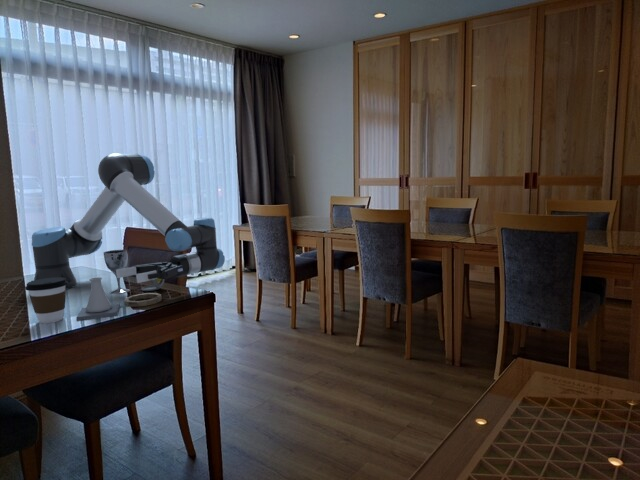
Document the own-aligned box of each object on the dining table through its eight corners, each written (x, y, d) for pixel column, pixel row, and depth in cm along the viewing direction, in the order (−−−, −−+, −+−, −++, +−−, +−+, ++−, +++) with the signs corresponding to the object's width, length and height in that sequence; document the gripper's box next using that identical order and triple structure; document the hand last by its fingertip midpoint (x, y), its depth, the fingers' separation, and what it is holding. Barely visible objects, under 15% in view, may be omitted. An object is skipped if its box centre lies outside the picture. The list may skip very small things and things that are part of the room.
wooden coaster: (126, 299, 161) (125, 295, 161) (161, 295, 164) (161, 291, 164) (123, 308, 150) (123, 303, 150) (161, 303, 154) (161, 299, 153)
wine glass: (128, 293, 171) (124, 252, 169) (105, 295, 170) (100, 253, 168) (133, 288, 179) (129, 249, 177) (111, 289, 177) (106, 250, 175)
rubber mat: (82, 310, 149) (82, 307, 149) (120, 306, 153) (119, 303, 153) (76, 320, 139) (76, 317, 139) (117, 315, 142) (116, 312, 142)
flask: (101, 313, 141) (97, 281, 140) (80, 313, 143) (76, 280, 142) (116, 306, 148) (113, 275, 147) (96, 306, 150) (93, 275, 149)
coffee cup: (74, 320, 139) (69, 280, 138) (31, 328, 133) (26, 287, 131) (69, 312, 148) (64, 275, 146) (28, 320, 142) (23, 281, 140)
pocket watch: (142, 288, 177) (139, 262, 175) (165, 286, 179) (163, 260, 178) (141, 293, 169) (138, 266, 168) (165, 291, 172) (163, 263, 170)
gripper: (205, 279, 160) (147, 292, 144) (166, 271, 176) (110, 283, 160) (204, 257, 158) (145, 268, 143) (164, 251, 175) (108, 261, 159)
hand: (126, 276), depth 152 cm, fingers open, 13 cm apart
